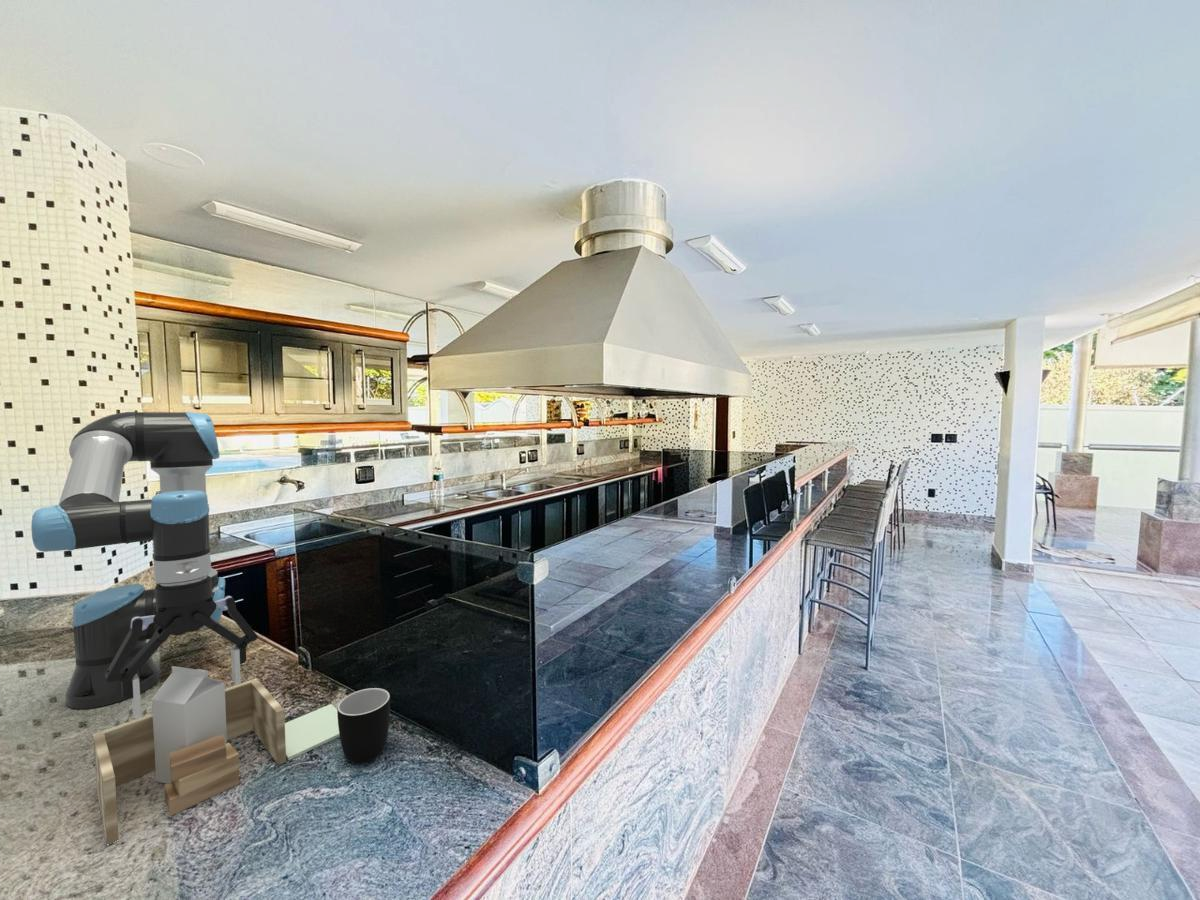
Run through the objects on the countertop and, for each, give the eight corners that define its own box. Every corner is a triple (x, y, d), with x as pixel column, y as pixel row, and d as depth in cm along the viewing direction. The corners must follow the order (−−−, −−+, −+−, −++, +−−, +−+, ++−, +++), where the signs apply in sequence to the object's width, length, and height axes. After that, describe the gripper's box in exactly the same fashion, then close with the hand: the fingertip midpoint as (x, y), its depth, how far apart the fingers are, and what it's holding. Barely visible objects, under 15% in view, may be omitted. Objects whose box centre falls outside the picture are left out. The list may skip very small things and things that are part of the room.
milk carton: (188, 788, 82) (183, 681, 81) (155, 782, 84) (150, 676, 83) (228, 760, 89) (224, 660, 88) (197, 754, 91) (192, 656, 90)
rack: (96, 790, 82) (93, 733, 81) (258, 724, 100) (256, 678, 99) (107, 846, 71) (103, 781, 71) (286, 761, 89) (284, 709, 88)
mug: (401, 746, 93) (400, 696, 93) (357, 775, 86) (356, 721, 85) (362, 726, 99) (361, 679, 99) (319, 752, 92) (317, 700, 91)
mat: (267, 733, 97) (267, 730, 97) (331, 706, 106) (331, 703, 106) (288, 760, 89) (288, 757, 89) (355, 729, 98) (355, 726, 98)
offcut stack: (164, 799, 80) (162, 755, 80) (232, 769, 87) (230, 728, 87) (171, 817, 76) (168, 771, 76) (241, 783, 84) (239, 741, 83)
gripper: (81, 605, 72) (89, 741, 73) (273, 567, 92) (277, 676, 93) (77, 594, 77) (85, 722, 78) (261, 560, 96) (265, 663, 97)
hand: (189, 697), depth 85 cm, fingers open, 13 cm apart
